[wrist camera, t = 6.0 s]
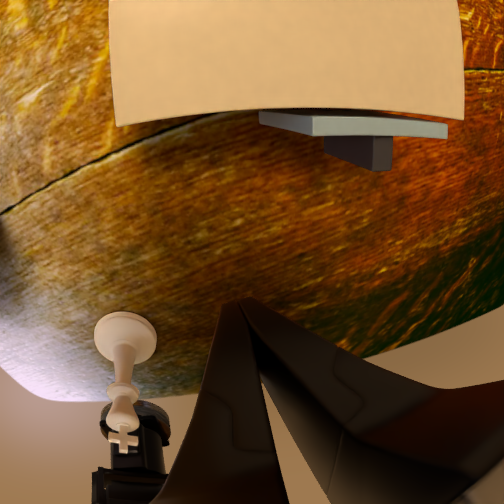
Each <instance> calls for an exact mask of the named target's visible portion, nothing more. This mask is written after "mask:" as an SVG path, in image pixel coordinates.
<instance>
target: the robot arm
mask: <svg viewBox="0 0 504 504" xmlns="http://www.w3.org/2000/svg"><path fill="white" fill-rule="evenodd" d="M260 378H261V380H262V382H263V384H264V386H265V388H266V389H267V391H268V393H269V395H270V397H271V399H272V400H273V403H274V404H275V406H276V408H277V410H278V412H279V414H280V415H281V417H282V419H283V421H284V423H285V424H286V426H287V428H288V430H289V432H290V434H291V435H292V437H293V439H294V441H295V443H296V444H297V446H298V448H299V450H300V451H301V453H302V455H303V457H304V459H305V460H306V462H307V464H308V465H309V467H310V469H311V471H312V472H313V474H314V476H315V478H316V479H317V481H318V483H319V484H320V486H321V488H322V489H323V491H324V493H325V494H326V495H327V498H328V500H329V501H330V503H331V504H504V380H501V381H496V382H491V383H486V384H480V385H475V386H469V387H463V388H456V389H441V388H435V387H431V386H428V385H425V384H422V383H419V382H417V381H414V380H412V379H409V378H406V377H404V376H401V375H399V374H396V373H393V372H391V371H388V370H386V369H383V368H381V367H378V366H376V365H374V364H372V363H369V362H367V361H365V360H363V359H361V358H359V357H357V356H355V355H353V354H351V353H349V352H348V351H346V350H344V349H342V348H340V347H337V345H335V344H333V343H331V342H329V341H328V340H326V339H324V338H322V337H321V336H319V335H317V334H315V333H313V332H312V331H310V330H308V329H306V328H305V327H303V326H301V325H300V324H298V323H296V322H294V321H293V320H291V319H289V318H287V317H286V316H284V315H282V314H281V313H279V312H277V311H275V310H274V309H272V308H270V307H269V306H267V305H265V304H263V303H262V302H260V301H258V300H257V299H255V298H253V297H251V296H249V297H246V298H242V299H239V300H238V301H231V302H227V303H223V304H222V305H221V309H220V313H219V317H218V320H217V324H216V328H215V332H214V336H213V340H212V344H211V348H210V352H209V355H208V359H207V363H206V367H205V371H204V375H203V379H202V383H201V387H200V389H201V390H200V391H199V394H198V399H197V402H196V406H195V409H194V413H193V416H192V419H191V422H190V424H189V427H188V430H187V432H186V435H185V438H184V440H183V442H182V445H181V447H180V449H179V452H178V454H177V456H176V459H175V461H174V464H173V466H172V468H171V470H170V473H169V474H166V472H165V465H164V457H163V450H162V447H166V446H169V445H170V443H169V440H168V438H167V436H166V434H165V433H164V431H163V429H162V427H161V425H160V423H159V421H158V420H157V418H156V416H154V415H148V416H140V417H138V419H139V427H138V428H137V429H136V430H134V431H132V432H127V435H130V436H137V437H138V445H137V446H132V445H128V452H127V454H126V453H119V443H113V442H111V469H106V468H103V467H98V471H96V472H92V504H289V500H288V496H287V492H286V489H285V485H284V481H283V477H282V473H281V470H280V465H279V461H278V457H277V453H276V448H275V444H274V439H273V435H272V431H271V426H270V421H269V417H268V413H267V408H266V403H265V399H264V394H263V390H262V385H261V380H260ZM99 424H100V427H101V428H102V430H103V431H104V432H105V433H106V435H107V436H108V435H109V432H112V433H118V434H119V431H116V430H113V429H112V428H110V427H109V426H108V424H107V422H106V420H101V421H100V422H99ZM104 488H106V489H104Z"/></svg>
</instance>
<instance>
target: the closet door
mask: <svg viewBox="0 0 504 504" xmlns="http://www.w3.org/2000/svg"><path fill="white" fill-rule="evenodd" d="M259 123H260V124H263V125H268V126H272V127H277V128H281V129H286V130H290V131H294V132H298V133H302V134H306V135H310V136H324V153H326V154H328V155H331V156H334V157H337V158H339V159H342V160H345V161H347V162H350V163H352V164H355V165H358V166H360V167H363V168H365V169H368V170H370V171H373V172H375V171H390V170H391V167H392V149H393V136H408V137H426V138H441V139H447V133H448V125H447V124H444V123H440V122H435V121H430V120H425V119H419V118H414V117H408V116H402V115H395V114H388V113H381V112H374V111H360V110H327V109H300V110H267V111H259Z"/></svg>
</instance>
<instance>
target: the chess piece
mask: <svg viewBox="0 0 504 504" xmlns="http://www.w3.org/2000/svg"><path fill="white" fill-rule="evenodd" d="M94 340H95V344H96V347H97V349H98V350H99V352H100V353H101V354H102V355H103V356H104V357H105V358H107V359H108V360H110V361H112V362H114V368H115V381H116V382H114V383H112V384H110V385H109V386H108V387H107V394H108V397H109V398H110V399H111V400H112V401H113V404H112V407H111V409H110V411H109V413H108V415H107V418H106V422H107V424H108V426H109V427H110V428H112V429H113V430H116V431H119V434H118V433H112V432H109V435H108V441H109V442H113V443H119V453H126V454H127V452H128V445H132V446H137V445H138V437H137V436H130V435H127V432H132V431H134V430H136V429H137V428H138V427H139V419H138V417H137V415H136V413H135V411H134V408H133V405H132V403H134V402H136V401H137V399H138V397H139V391H138V389H137V388H136V387H135V386H134V385H132V384H131V377H132V371H133V366H134V364H139V363H142V362H144V361H146V360H147V359H148V358H150V357H151V356H152V354H153V353H154V351H155V348H156V342H157V335H156V331H155V329H154V327H153V326H152V325H151V324H150V322H148V321H147V320H146V319H145V318H143V317H141V316H139V315H137V314H134V313H131V312H114V313H110V314H108V315H106V316H104V317H103V318H101V319H100V320H99V321H98V323H97V324H96V327H95V330H94Z"/></svg>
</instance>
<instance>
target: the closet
mask: <svg viewBox="0 0 504 504" xmlns="http://www.w3.org/2000/svg"><path fill="white" fill-rule="evenodd" d="M109 47H110V66H111V80H112V92H113V102H114V112H115V121H116V126H117V127H121V126H126V125H131V124H137V123H142V122H148V121H154V120H161V119H167V118H174V117H181V116H189V115H197V114H206V113H216V112H227V111H239V110H254V109H275V108H348V109H369V110H383V111H395V112H406V113H415V114H423V115H431V116H439V117H445V118H452V119H458V120H464V63H463V48H462V36H461V26H460V18H459V11H458V4H457V0H109Z"/></svg>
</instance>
